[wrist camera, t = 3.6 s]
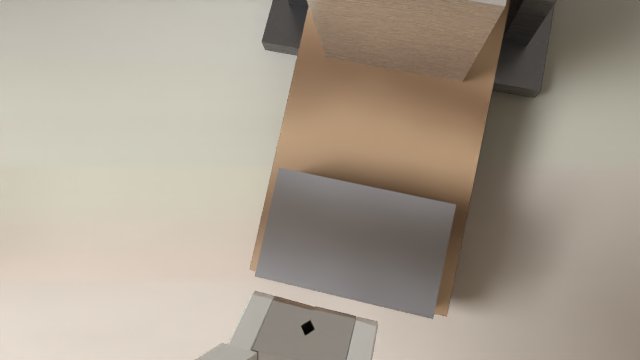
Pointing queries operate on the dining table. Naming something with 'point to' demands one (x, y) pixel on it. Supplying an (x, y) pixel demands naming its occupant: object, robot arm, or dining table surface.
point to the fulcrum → (515, 54)
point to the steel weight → (407, 33)
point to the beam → (374, 178)
